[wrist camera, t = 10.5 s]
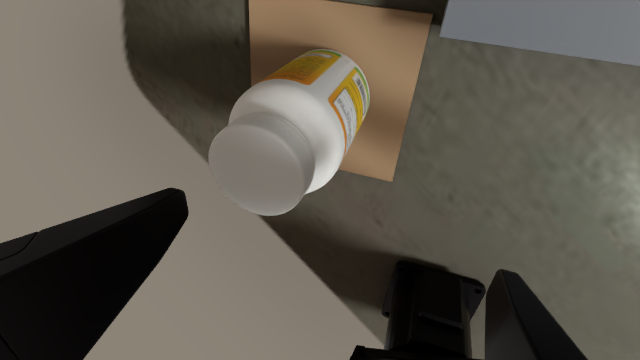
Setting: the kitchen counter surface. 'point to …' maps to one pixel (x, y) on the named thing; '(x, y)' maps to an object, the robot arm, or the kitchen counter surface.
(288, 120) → the supplement bottle
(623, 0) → the grey rectangular frame
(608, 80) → the kitchen counter surface
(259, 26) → the pad
